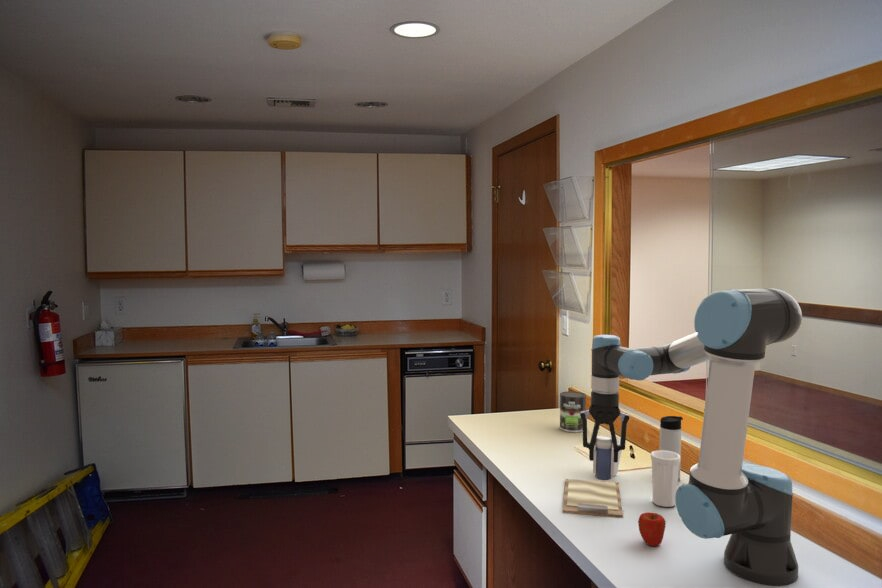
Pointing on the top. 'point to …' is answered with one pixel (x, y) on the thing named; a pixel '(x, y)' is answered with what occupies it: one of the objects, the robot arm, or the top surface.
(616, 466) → the cup
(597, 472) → the blue bottle
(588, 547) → the top surface
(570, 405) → the coffee can
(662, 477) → the cup
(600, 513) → the clipboard
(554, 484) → the top surface
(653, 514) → the apple
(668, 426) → the travel mug
